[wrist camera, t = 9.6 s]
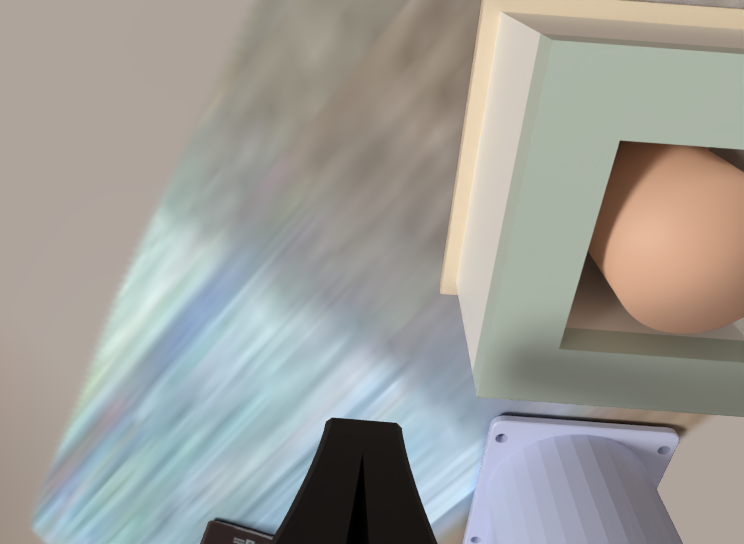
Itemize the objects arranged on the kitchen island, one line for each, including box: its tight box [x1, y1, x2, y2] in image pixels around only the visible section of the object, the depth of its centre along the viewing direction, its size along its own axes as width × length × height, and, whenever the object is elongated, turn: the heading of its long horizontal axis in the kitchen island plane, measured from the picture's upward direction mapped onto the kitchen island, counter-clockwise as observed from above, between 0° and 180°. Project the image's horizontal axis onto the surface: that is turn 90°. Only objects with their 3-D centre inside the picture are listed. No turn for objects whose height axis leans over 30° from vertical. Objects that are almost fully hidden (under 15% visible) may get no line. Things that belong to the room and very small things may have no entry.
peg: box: [588, 140, 744, 334], centre depth 15 cm, size 4×4×6 cm
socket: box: [440, 0, 744, 417], centre depth 16 cm, size 10×10×6 cm
